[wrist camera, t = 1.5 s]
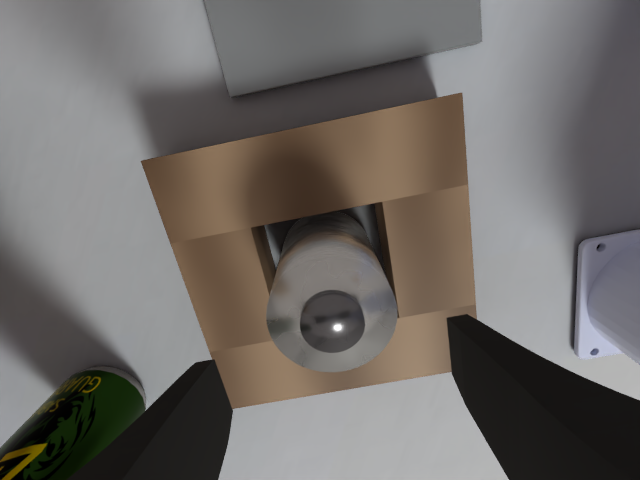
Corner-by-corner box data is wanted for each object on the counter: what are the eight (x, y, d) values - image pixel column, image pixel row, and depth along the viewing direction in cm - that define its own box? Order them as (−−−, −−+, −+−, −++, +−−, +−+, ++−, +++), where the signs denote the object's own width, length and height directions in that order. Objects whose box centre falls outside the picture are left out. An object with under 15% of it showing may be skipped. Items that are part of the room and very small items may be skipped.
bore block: (438, 97, 17) (462, 92, 14) (458, 334, 22) (479, 367, 19) (168, 155, 18) (140, 160, 15) (241, 372, 22) (230, 409, 20)
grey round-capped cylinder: (362, 202, 19) (391, 249, 12) (376, 283, 20) (408, 369, 13) (273, 220, 19) (248, 277, 12) (293, 299, 21) (281, 390, 14)
